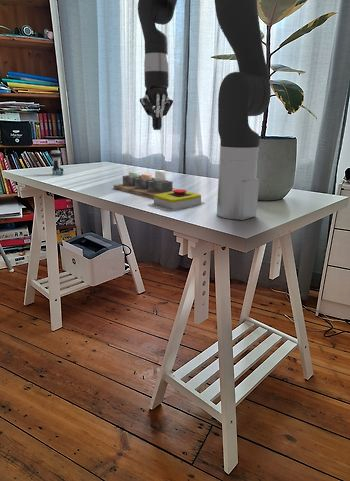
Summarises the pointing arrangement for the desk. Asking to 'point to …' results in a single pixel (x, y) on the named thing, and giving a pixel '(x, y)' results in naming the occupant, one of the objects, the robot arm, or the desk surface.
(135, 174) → the sage key
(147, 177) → the peach small block
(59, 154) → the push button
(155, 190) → the brown wooden flat board
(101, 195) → the desk surface
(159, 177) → the ivory key
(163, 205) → the emergency button
